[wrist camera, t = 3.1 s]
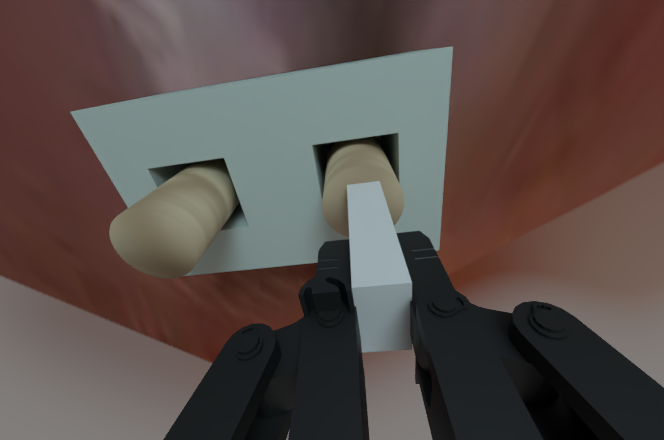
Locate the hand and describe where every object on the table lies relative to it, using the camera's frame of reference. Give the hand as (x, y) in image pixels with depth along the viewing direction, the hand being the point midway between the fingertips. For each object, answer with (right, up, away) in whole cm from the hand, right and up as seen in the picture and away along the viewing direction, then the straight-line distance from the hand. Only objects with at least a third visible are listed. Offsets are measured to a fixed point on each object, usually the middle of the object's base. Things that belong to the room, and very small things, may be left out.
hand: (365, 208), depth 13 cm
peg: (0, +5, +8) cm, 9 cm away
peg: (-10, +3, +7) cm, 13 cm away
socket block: (-5, +6, +11) cm, 14 cm away
